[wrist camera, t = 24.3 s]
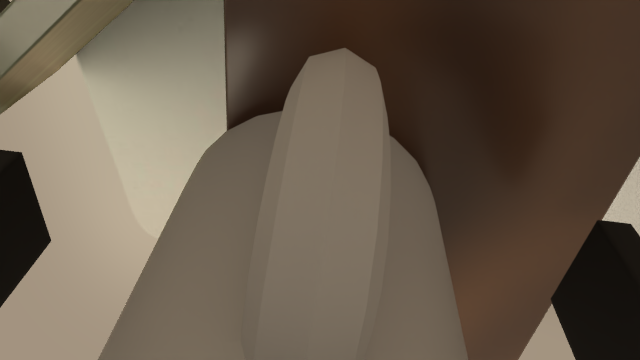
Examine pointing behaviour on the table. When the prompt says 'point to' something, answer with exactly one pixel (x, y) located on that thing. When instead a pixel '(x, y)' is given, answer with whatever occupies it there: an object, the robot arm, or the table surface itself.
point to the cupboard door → (45, 39)
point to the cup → (300, 241)
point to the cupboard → (477, 125)
